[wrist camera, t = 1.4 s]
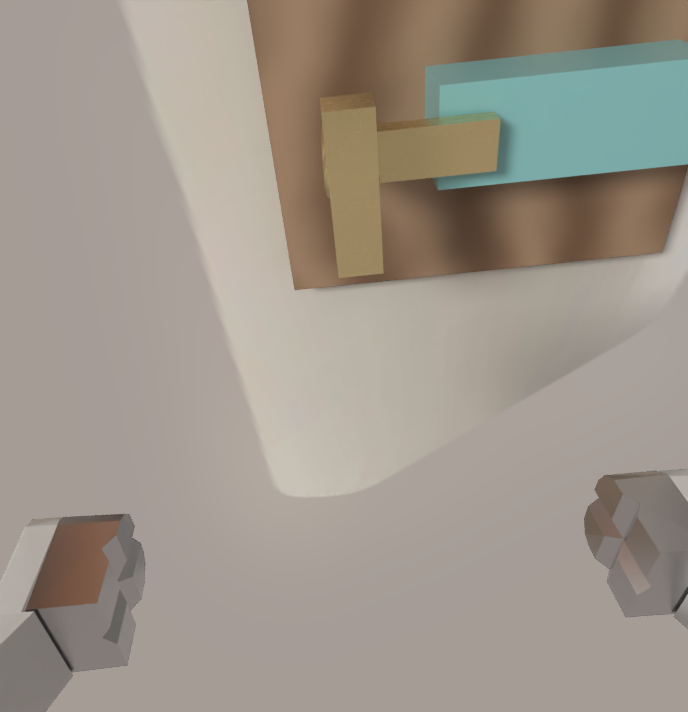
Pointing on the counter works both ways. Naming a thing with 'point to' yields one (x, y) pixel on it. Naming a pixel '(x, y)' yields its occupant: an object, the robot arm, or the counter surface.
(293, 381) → the counter surface
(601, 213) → the base
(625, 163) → the cover
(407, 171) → the t key
